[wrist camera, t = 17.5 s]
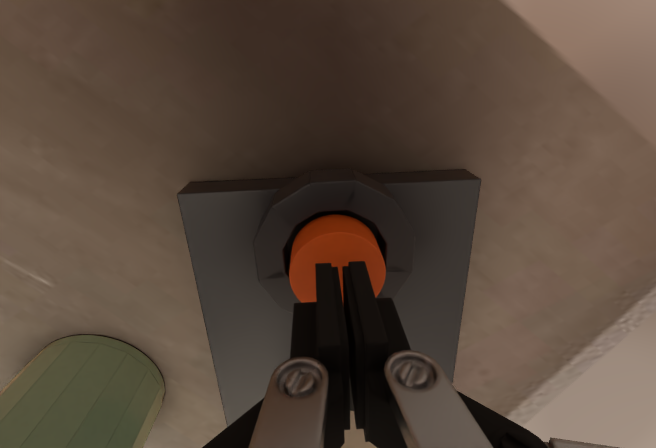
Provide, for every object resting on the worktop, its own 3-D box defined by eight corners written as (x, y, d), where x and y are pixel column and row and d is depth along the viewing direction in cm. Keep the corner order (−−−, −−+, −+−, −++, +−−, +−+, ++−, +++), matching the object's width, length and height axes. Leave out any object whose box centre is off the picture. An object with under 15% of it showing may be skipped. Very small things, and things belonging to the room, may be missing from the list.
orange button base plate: (185, 166, 16) (154, 189, 13) (467, 153, 16) (505, 172, 13) (241, 442, 24) (230, 501, 20) (434, 429, 24) (453, 484, 21)
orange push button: (287, 216, 14) (285, 234, 12) (378, 211, 14) (387, 229, 12) (294, 292, 15) (292, 318, 14) (376, 288, 15) (384, 313, 14)
